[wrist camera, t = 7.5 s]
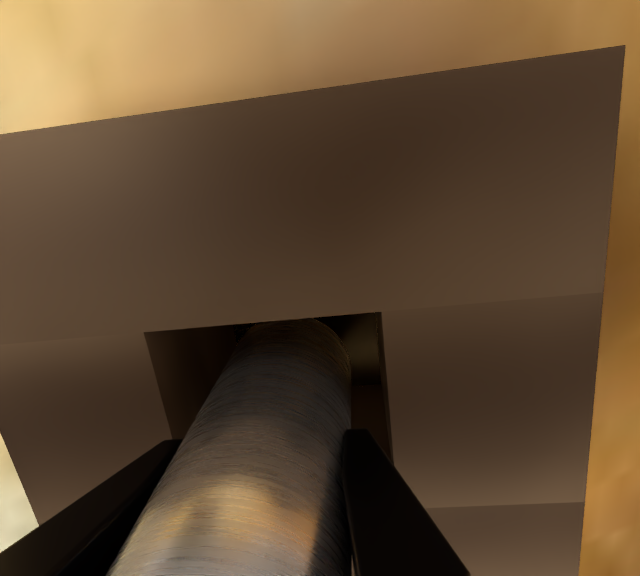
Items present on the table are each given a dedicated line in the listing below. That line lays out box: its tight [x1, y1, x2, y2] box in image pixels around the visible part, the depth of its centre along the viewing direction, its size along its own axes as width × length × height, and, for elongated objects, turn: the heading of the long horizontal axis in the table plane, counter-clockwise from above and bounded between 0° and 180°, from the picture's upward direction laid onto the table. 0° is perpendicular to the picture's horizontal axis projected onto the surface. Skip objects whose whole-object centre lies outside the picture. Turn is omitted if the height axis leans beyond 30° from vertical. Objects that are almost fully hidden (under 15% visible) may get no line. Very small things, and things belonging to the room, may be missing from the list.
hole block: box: [0, 45, 625, 576], centre depth 11 cm, size 12×12×5 cm
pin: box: [105, 318, 352, 576], centre depth 6 cm, size 3×3×10 cm
